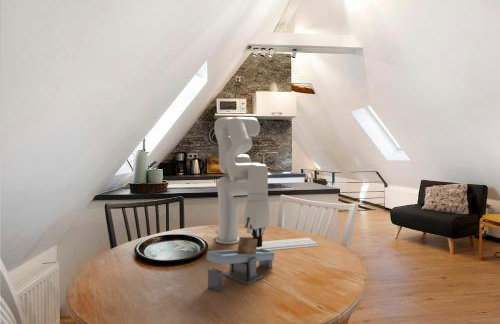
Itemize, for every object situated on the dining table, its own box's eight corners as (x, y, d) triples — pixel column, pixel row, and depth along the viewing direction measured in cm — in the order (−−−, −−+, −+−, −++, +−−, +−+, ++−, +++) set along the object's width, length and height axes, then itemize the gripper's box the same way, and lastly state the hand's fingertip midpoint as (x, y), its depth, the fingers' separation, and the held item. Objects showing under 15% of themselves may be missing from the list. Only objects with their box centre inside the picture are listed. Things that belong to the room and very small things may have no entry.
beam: (205, 258, 103) (206, 250, 103) (258, 254, 124) (259, 247, 124) (221, 265, 98) (223, 255, 98) (274, 259, 119) (275, 252, 119)
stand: (201, 284, 105) (201, 261, 104) (255, 261, 126) (255, 242, 125) (225, 295, 97) (226, 271, 96) (279, 269, 118) (279, 249, 117)
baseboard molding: (320, 248, 144) (308, 240, 156) (320, 242, 144) (308, 234, 156) (256, 254, 136) (249, 246, 147) (256, 247, 135) (249, 239, 147)
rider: (237, 253, 111) (239, 236, 112) (246, 253, 115) (248, 236, 116) (246, 256, 108) (248, 239, 109) (255, 256, 112) (257, 239, 113)
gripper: (262, 194, 123) (262, 240, 124) (236, 198, 112) (236, 249, 113) (277, 196, 118) (277, 243, 119) (252, 200, 107) (252, 253, 108)
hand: (257, 246), depth 116 cm, fingers closed
